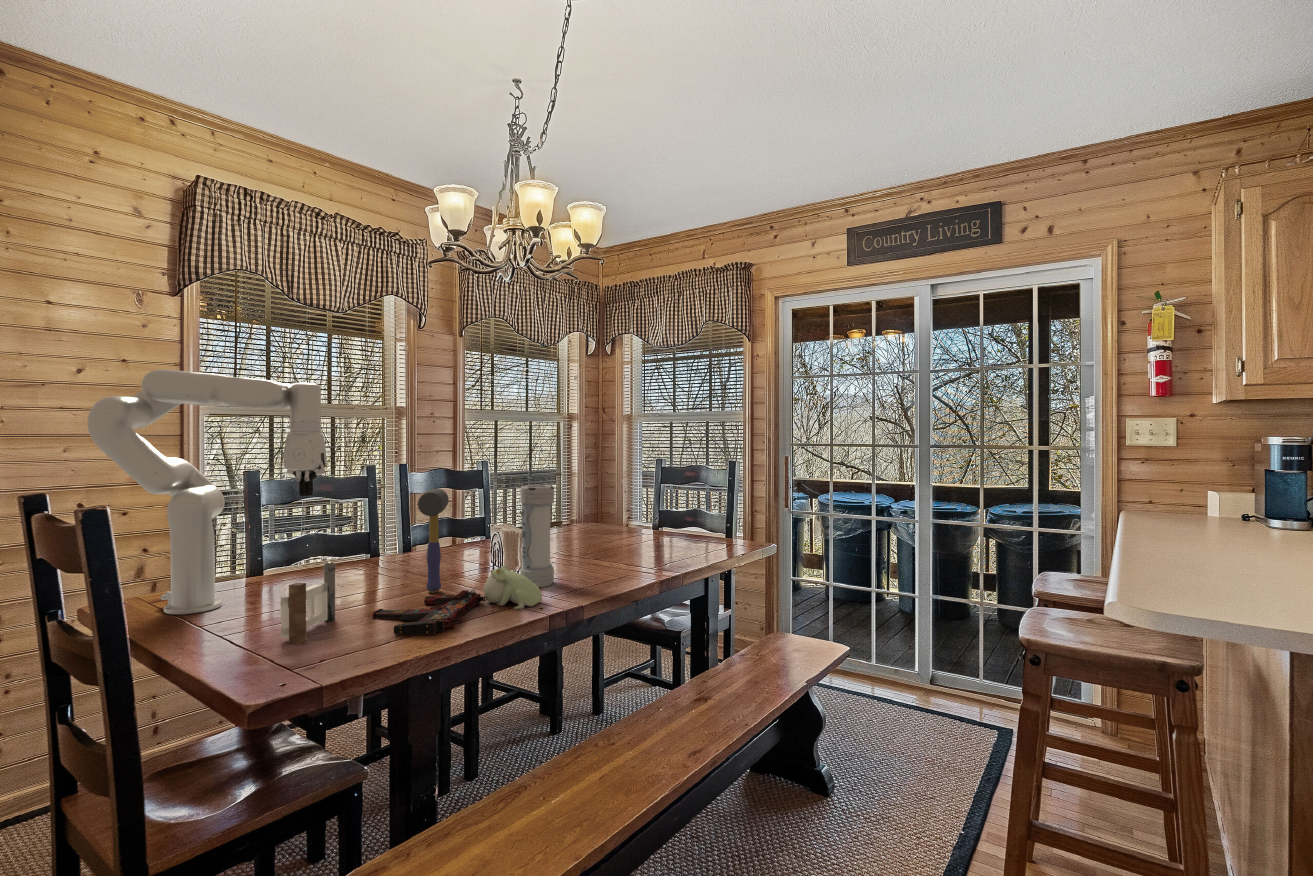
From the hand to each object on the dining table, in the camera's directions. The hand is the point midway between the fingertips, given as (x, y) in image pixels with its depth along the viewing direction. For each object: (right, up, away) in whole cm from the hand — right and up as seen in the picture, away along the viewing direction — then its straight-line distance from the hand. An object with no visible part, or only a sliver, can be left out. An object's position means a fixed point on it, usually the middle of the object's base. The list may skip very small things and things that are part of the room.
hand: (306, 495), depth 182 cm
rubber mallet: (+31, -29, +11) cm, 44 cm away
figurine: (+56, -30, 0) cm, 64 cm away
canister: (+59, -29, +22) cm, 70 cm away
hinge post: (+15, -30, -17) cm, 37 cm away
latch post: (+16, -30, -34) cm, 48 cm away
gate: (+14, -29, -26) cm, 41 cm away
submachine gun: (+37, -30, -11) cm, 49 cm away
